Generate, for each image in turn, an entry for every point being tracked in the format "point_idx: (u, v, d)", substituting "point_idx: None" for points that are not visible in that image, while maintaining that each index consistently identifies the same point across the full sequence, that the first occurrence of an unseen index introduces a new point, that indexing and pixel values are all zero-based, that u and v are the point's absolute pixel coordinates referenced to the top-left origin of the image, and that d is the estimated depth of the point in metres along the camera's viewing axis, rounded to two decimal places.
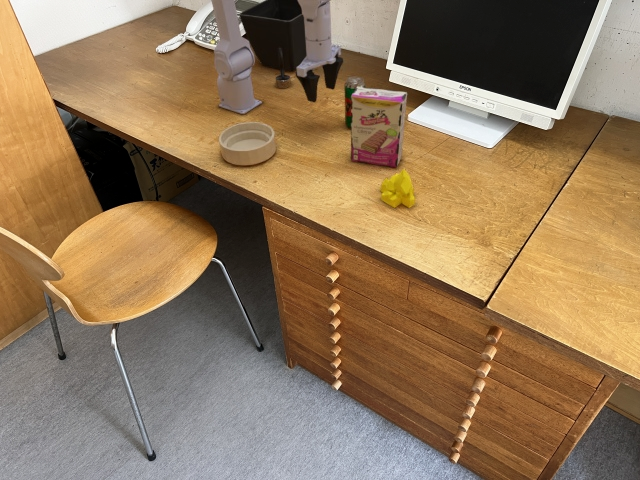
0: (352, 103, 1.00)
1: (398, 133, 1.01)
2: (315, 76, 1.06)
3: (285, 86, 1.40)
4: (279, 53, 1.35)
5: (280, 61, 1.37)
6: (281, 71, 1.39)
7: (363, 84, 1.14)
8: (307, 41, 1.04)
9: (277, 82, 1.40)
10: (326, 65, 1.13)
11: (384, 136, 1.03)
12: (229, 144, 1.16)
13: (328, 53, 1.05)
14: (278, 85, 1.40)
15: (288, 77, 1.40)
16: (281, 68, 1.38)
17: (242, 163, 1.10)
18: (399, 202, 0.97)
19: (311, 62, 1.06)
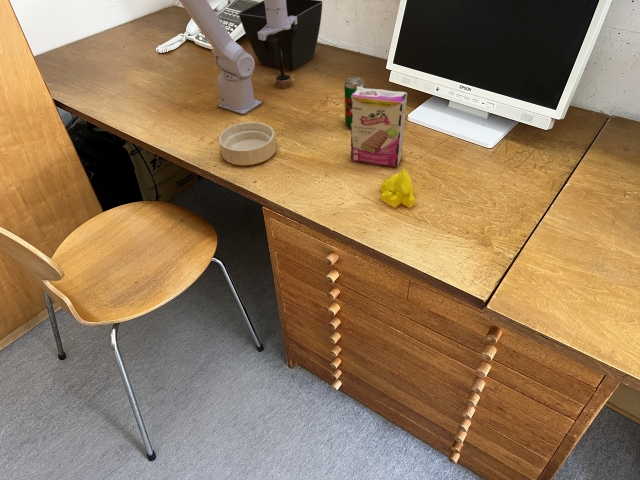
0: (352, 103, 1.00)
1: (398, 133, 1.01)
2: (274, 39, 1.28)
3: (285, 86, 1.40)
4: (279, 53, 1.35)
5: (280, 61, 1.37)
6: (281, 71, 1.39)
7: (363, 84, 1.14)
8: (266, 10, 1.26)
9: (277, 82, 1.40)
10: (284, 33, 1.34)
11: (384, 136, 1.03)
12: (229, 144, 1.16)
13: (284, 21, 1.27)
14: (278, 85, 1.40)
15: (288, 77, 1.40)
16: (281, 68, 1.38)
17: (242, 163, 1.10)
18: (399, 202, 0.97)
19: (270, 28, 1.28)
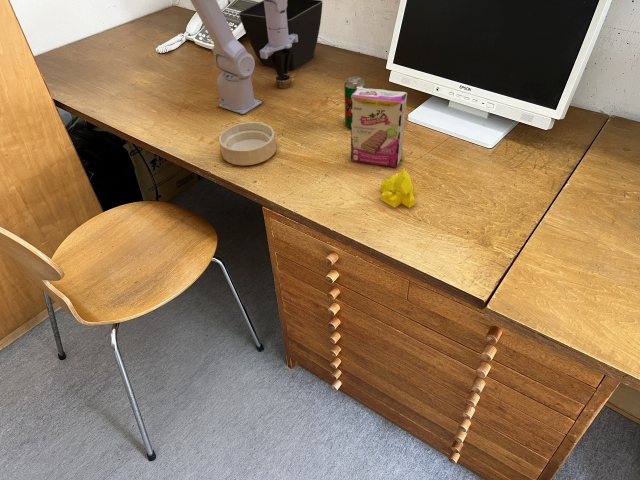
0: (352, 103, 1.00)
1: (398, 133, 1.01)
2: (282, 54, 1.33)
3: (285, 86, 1.40)
4: None
5: None
6: None
7: (363, 84, 1.14)
8: (268, 30, 1.30)
9: (277, 82, 1.40)
10: None
11: (384, 136, 1.03)
12: (229, 144, 1.16)
13: (285, 40, 1.31)
14: (278, 85, 1.40)
15: (288, 77, 1.40)
16: None
17: (242, 163, 1.10)
18: (399, 202, 0.97)
19: (272, 47, 1.32)
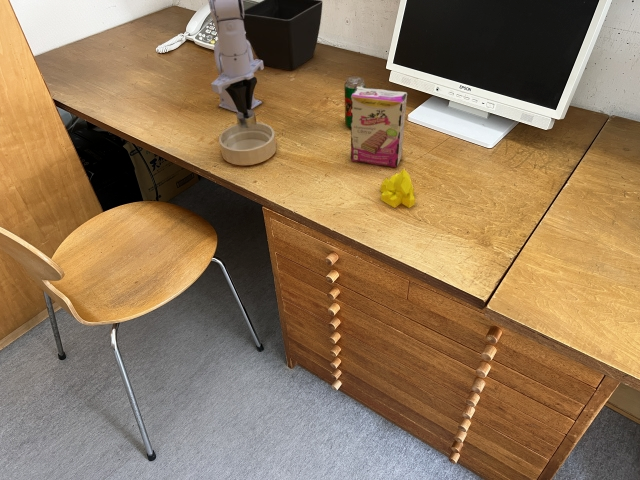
0: (352, 103, 1.00)
1: (398, 133, 1.01)
2: (241, 87, 1.03)
3: (249, 125, 1.10)
4: None
5: None
6: None
7: (363, 84, 1.14)
8: (222, 56, 1.00)
9: (238, 120, 1.10)
10: None
11: (384, 136, 1.03)
12: (229, 144, 1.16)
13: (245, 69, 1.01)
14: (239, 124, 1.10)
15: (252, 114, 1.10)
16: None
17: (242, 163, 1.10)
18: (399, 202, 0.97)
19: (228, 78, 1.02)
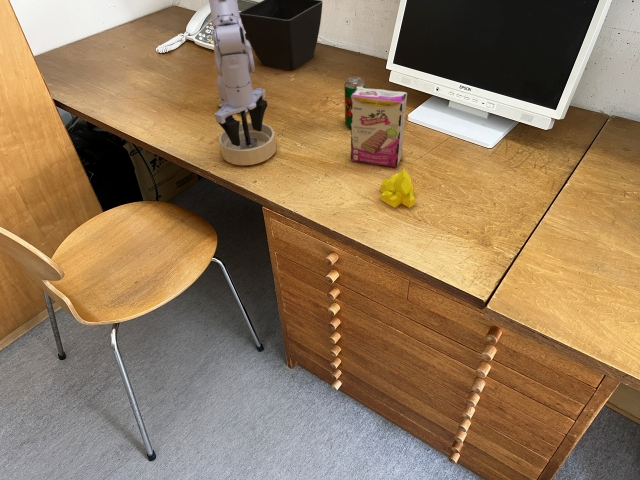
0: (352, 103, 1.00)
1: (398, 133, 1.01)
2: (234, 122, 1.04)
3: None
4: (242, 114, 1.08)
5: (243, 123, 1.10)
6: (245, 134, 1.12)
7: (363, 84, 1.14)
8: (225, 87, 1.03)
9: (241, 147, 1.13)
10: None
11: (384, 136, 1.03)
12: (229, 144, 1.16)
13: (247, 99, 1.04)
14: None
15: (254, 141, 1.14)
16: (245, 131, 1.11)
17: (242, 163, 1.10)
18: (399, 202, 0.97)
19: (231, 108, 1.05)
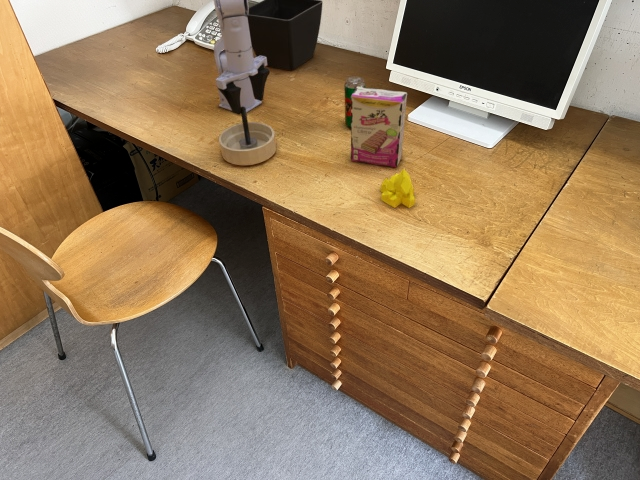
0: (352, 103, 1.00)
1: (398, 133, 1.01)
2: (236, 88, 1.03)
3: None
4: (242, 113, 1.08)
5: (244, 122, 1.10)
6: (245, 134, 1.12)
7: (363, 84, 1.14)
8: (226, 52, 1.01)
9: (241, 147, 1.13)
10: (252, 76, 1.10)
11: (384, 136, 1.03)
12: (229, 144, 1.16)
13: (249, 65, 1.02)
14: None
15: (254, 140, 1.14)
16: (245, 130, 1.11)
17: (242, 163, 1.10)
18: (399, 202, 0.97)
19: (232, 74, 1.03)
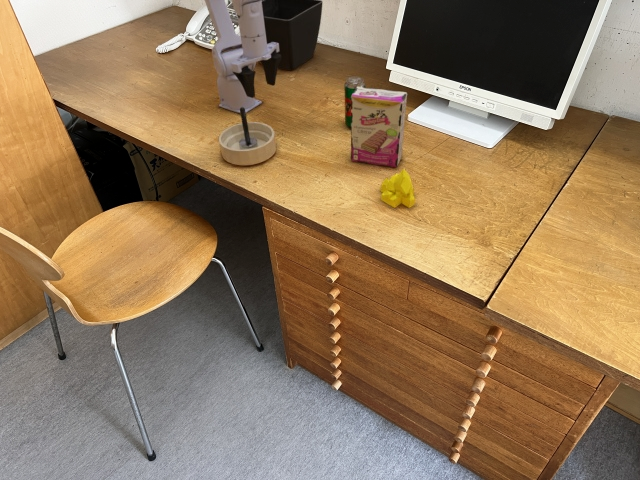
0: (352, 103, 1.00)
1: (398, 133, 1.01)
2: (250, 72, 1.08)
3: None
4: (242, 114, 1.08)
5: (243, 123, 1.10)
6: (245, 134, 1.12)
7: (363, 84, 1.14)
8: (241, 38, 1.07)
9: (241, 147, 1.13)
10: (265, 62, 1.15)
11: (384, 136, 1.03)
12: (229, 144, 1.16)
13: (262, 50, 1.08)
14: None
15: (254, 141, 1.14)
16: (245, 131, 1.11)
17: (242, 163, 1.10)
18: (399, 202, 0.97)
19: (246, 58, 1.09)
